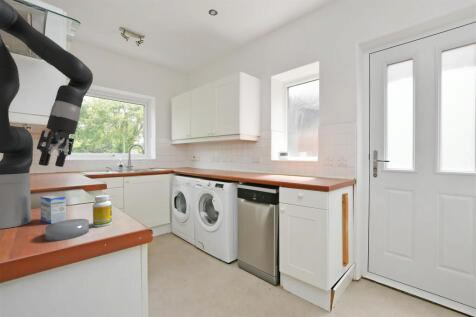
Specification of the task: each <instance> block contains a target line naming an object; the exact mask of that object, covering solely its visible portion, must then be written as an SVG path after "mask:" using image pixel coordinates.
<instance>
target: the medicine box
mask: <svg viewBox="0 0 476 317" xmlns="http://www.w3.org/2000/svg"><path fill="white" fill-rule="evenodd" d="M66 207H67V204H66V196H60V195H44V196H40V221H41V222H43V223H48V224H53V223H56V222H60V221H65V220H67V217H66V216H67V212H66V211H67V210H66V209H67V208H66Z"/></svg>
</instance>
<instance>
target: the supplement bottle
mask: <svg viewBox="0 0 476 317" xmlns="http://www.w3.org/2000/svg"><path fill="white" fill-rule="evenodd" d="M94 201H95V202H93V204H92V226H93V227H97V228H102V227H107V226H110V225H111V224H112V223H113V211H112V210H113V209H112V208H113V207H112V206H113V205H112V201H111V200H110V195H109V194H99V195H96V196H94Z"/></svg>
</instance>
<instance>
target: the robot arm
mask: <svg viewBox="0 0 476 317" xmlns="http://www.w3.org/2000/svg"><path fill="white" fill-rule="evenodd" d="M0 31H3V32H5V33H7V34H8V35H11V36H13V37H14V38H16V39H18V40H19V41H21V42H22V43H23V44H25V45H26V47H27V48H28V49H29V50H30V51H31V52H32V53H34V54H35V55H36V56H38V57H39V58H40V59H41V60H42V61H45V63H48V64H49V65H50V66H53V68H55V69H56V70H58V71H59V72H60V73H61V74H62V75H64V76H65V77H66V78H67V79H69V81H68V83H67V84H63V85H60V86H59V87H58V89H57V92H56V96H55V99H54V102H53V105H52V106H51V109H50V113H49V116H48V120H47V124H46V129H47V130H45V129H44V130H42V131H41V134H40V137H39V140H38V142H37V145H36V150H38V151H39V152H40V157H39V161H38V165H40V166H42V167H43V166H44V167H47V166H48V167H49V164H50V160H51V158H52V157H51V156H52V153H53V151H54V150H57V156H56V160H55V167H58V168H62V167H63V168H64V167H65V166H64V165H65V162H66V158H67V157H68V156H71V155H72V150H73V147H74V142H75V138H71V137H70V135H75V134H76V131H77V128H78V123H79V121H80V120H79V119H80V116H81V109H82V106H83V101H84V97H85V96H86V94H87V93H88V91H89V89H90V88H91V87H92V84H93V80H94V74H93V71H92V70H91V69H90V68H89V66H87V65H86V64H85V63H84V62H83V61H82V60H81V59H80V58H78V57H77V56H75V55H74V54H72V53H71V52H69V51H68V50H66V49H64V48H63V47H62V46H61V45H59V44H58V43H57V42H55V41H54V40H53V39H51V38H49V37H48V36H47V35H45V34H44V33H42V32H40V31H39V30H38V29H36V28H35V27H33V26H32V24H30V23H29V22H28V21H27V20H26V19H25V18H24V17H23V16H22V15H21V14H20V13H19V12H18V11H17V10H16V9H15V8H14V7H13V6H12V5H11V4H9V3H8V2H7V1H5V0H0ZM19 74H20V73H19V68H18V65H17V63H16V61H15V59H14V58H13V56H12V54H11V52H10V50H9V49H8V47H7V45H6V44H5V42H4V40H3V37H2V35H1V34H0V154H2V158H1V160H0V229H8V228H9V229H11V228H15V227H19V226H24V225H27V224H30V223H31V222H32V202H31V200H32V199H31V174H30V173H31V172H30V169H31V167H32V164H33V159H34V158H33V157H34V156H33V154H34V140H33V135H32V134H31V132H30V131H29V130H28V129H26V128H24V127H21V126H17V125H16V126H15V125H11V123H10V118H9V117H10V115H9V113H10V112H9V111H10V110H9V109H10V107H11V104H12V102H13V101H14V99H15V98H16V96H17V95H18V92H19V90H20V85H21V84H20V75H19ZM49 130H50V131H49Z"/></svg>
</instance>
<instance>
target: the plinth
mask: <svg viewBox="0 0 476 317" xmlns="http://www.w3.org/2000/svg"><path fill="white" fill-rule="evenodd" d="M89 224H90V223H89V219H87V218H75V219H66V220H65V221H60V222H56V223H53V224H51V223H49V224H48V225H46V226H45V227H44V229H45V230H44V231H45V232H44V235H45V240H46V241H49V242H58V241H66V240H71V239H75V238H78V237H81V236H84V235H87V234H88V233H89V231H90V228H89V227H90V226H89Z"/></svg>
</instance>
